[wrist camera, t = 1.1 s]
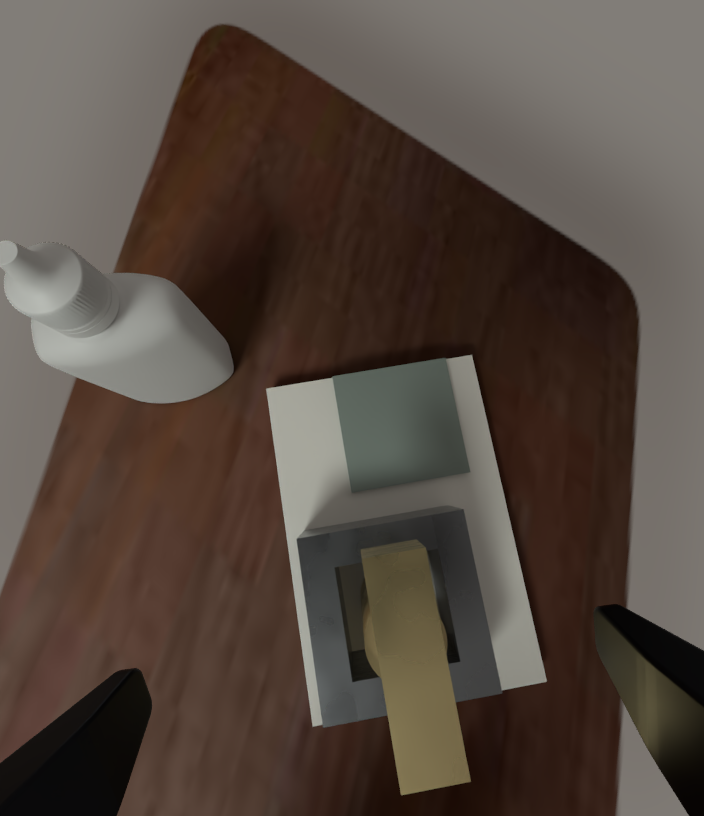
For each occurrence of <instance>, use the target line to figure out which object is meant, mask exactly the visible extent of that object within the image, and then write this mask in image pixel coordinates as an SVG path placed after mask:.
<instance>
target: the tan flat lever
mask: <svg viewBox="0 0 704 816" xmlns="http://www.w3.org/2000/svg"><path fill="white" fill-rule="evenodd" d="M360 550H361V558H362V564H363V570H364V576H365V578H364V580H363V583H362V586H361V594H360V595H361V608H362V620H363V633H364V645H365V652H366V656H367V659H368V661H369V663H370V665H371V667H372V669H373V670H374V671H375V673H376V674H377V675H378V676H379V677H380V678H381V679H382V684H383V690H384V696H385V702H386V708H387V714H388V720H389V726H390V732H391V738H392V744H393V750H394V756H395V762H396V768H397V774H398V780H399V786H400V792H401V795H406V794H411V793H416V792H421V791H426V790H431V789H436V788H441V787H447V786H452V785H457V784H462V783H467V782H471V780H470V774H469V769H468V764H467V759H466V754H465V749H464V743H463V738H462V733H461V728H460V723H459V717H458V712H457V707H456V702H455V697H454V692H453V686H452V681H451V676H450V671H449V666H448V661H447V655H446V653H447V634H446V630H445V627H444V624H443V622H442V620H441V619H440V617H439V614H438V609H437V604H436V598H435V593H434V588H433V583H432V578H431V572H430V567H429V562H428V557H427V552H426V547H425V546H424V545H422V544H421V543H420V542H419V541H418V540H417V539H415V540H410V541H404V542H398V543H393V544H387V545H381V546H376V547H370V548H365V549H360Z"/></svg>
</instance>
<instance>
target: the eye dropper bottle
mask: <svg viewBox="0 0 704 816" xmlns="http://www.w3.org/2000/svg"><path fill="white" fill-rule="evenodd" d="M0 267H1V268H2V269H3V270H4V271H5V272H6V273H5V277H4V290H5V294H6V297H7V298H8V301H9V302H10V303H11V305H13V307H14V308H16V310H18V311H19V312H21V313H23V314H25V315H27V316H29V317H31V318H32V320H31V330H32V337H33V342H34V346H35V350H36V352H37V354H38V356H39V357H40V359H41V360H42V361H43V362H45V363H47V364H48V365H50V366H52V367H54V368H56V369H58V370H61V371H63V372H65V373H68V374H70V375H73V376H75V377H78V378H80V379H83V380H86V381H88V382H91V383H93V384H96V385H98V386H101V387H104V388H106V389H109V390H112V391H114V392H117V393H119V394H122V395H125V396H127V397H130V398H133V399H135V400H138V401H142V402H148V403H174V402H181V401H185V400H189V399H193V398H196V397H198V396H201V395H203V394H206V393H207V392H209V391H211V390H213V389H215V388H216V387H218V386H220V385H221V384H222V383H224V382H225V381H226V380H227V379H229V378H230V377H231V375H232V373H233V370H234V365H233V360H232V356H231V352H230V349H229V345H228V343H227V341H226V340H225V339H224V337H223V336H222V335H221V334H220V333H219V332H218V331H217V329H216V328H215V327H214V326H213V325H212V324H211V323H210V322H209V320H208V319H207V318H206V317H205V316H204V315H203V314H202V313H201V311H200V310H199V309H198V308H197V307H196V306H195V305H194V304H193V303H192V302H191V300H190V299H189V298H188V297H187V296H186V295H185V294H184V293H183V292H182V291H181V290H180V289H179V288H178V287H177V286H176V285H175V284H174V283H172V282H170V281H168V280H167V279H164V278H161V277H157V276H151V275H145V274H136V273H109V274H102V273H101V272H99V271H98V270H97V269H96V268H95V267H93V266H92V265H91V264H90V263H89V262H87V261H86V260H85V259H84V258H82V257H81V256H80V255H79V254H78V253H77V252H75V251H74V250H73V249H71V248H70V247H67V246H66V245H63V244H59V243H54V242H47V243H46V242H44V243H39V244H35V245H32V246H30V247H28V248H25V247H23V246H21V245H18V244H16V243H14V242H12V241H8V240H4V241H1V242H0Z"/></svg>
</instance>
